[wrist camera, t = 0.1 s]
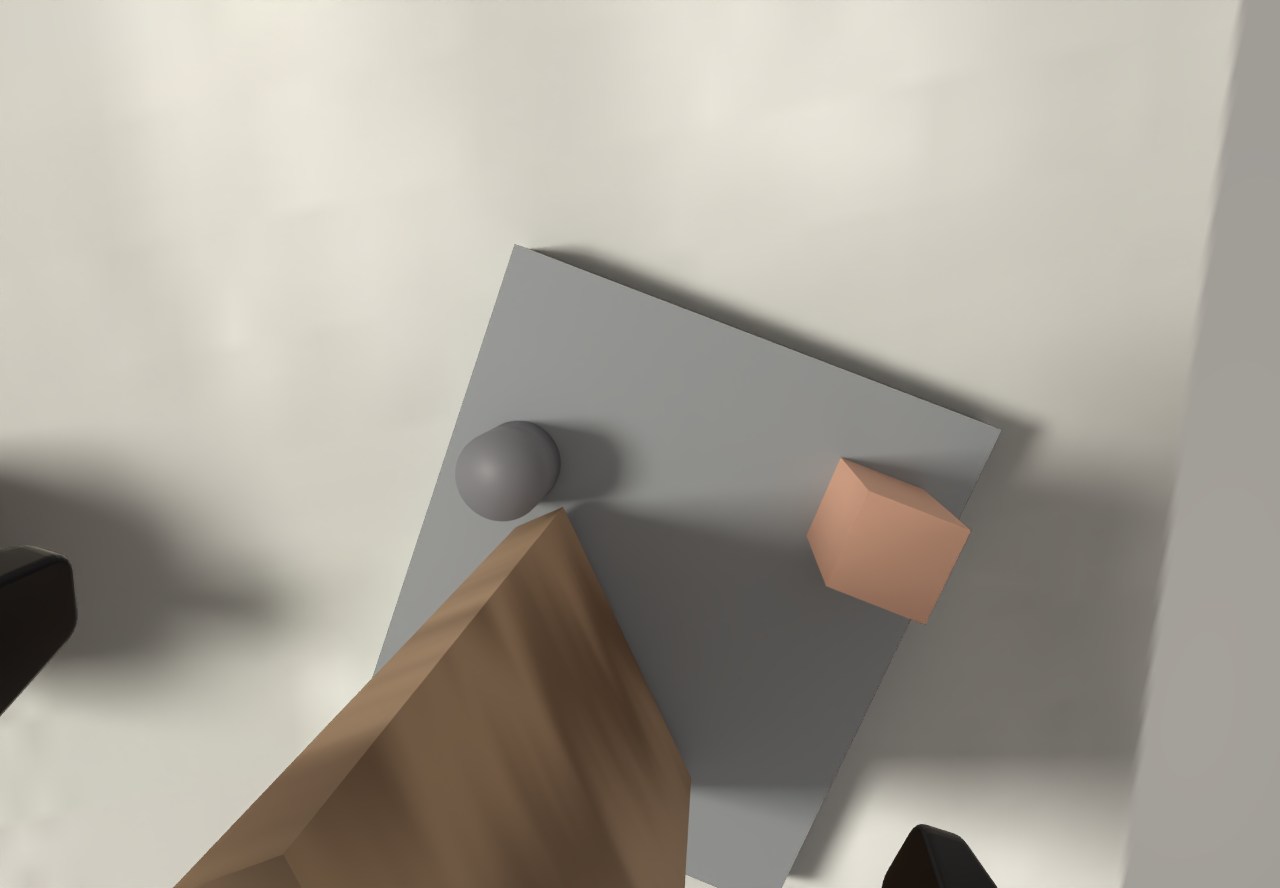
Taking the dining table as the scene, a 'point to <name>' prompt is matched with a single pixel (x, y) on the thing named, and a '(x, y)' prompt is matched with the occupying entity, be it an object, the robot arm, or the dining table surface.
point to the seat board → (708, 530)
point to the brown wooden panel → (483, 752)
